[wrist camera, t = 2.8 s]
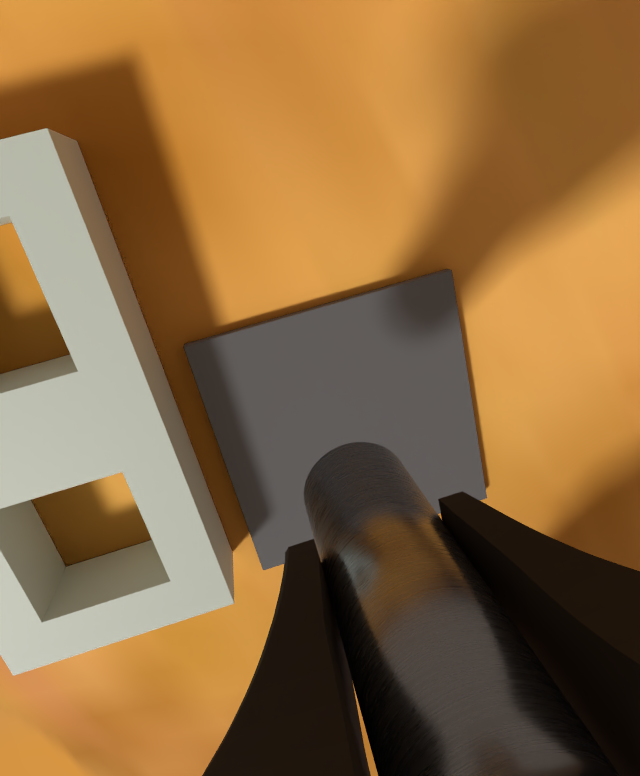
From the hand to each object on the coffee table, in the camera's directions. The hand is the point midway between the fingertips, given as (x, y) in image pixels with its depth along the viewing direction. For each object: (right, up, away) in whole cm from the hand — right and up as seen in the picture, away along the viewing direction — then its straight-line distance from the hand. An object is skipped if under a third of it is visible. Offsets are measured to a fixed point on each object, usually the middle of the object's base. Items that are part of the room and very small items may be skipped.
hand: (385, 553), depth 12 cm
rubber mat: (0, +2, +9) cm, 9 cm away
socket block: (-11, +3, +7) cm, 13 cm away
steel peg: (-1, +1, +3) cm, 3 cm away
